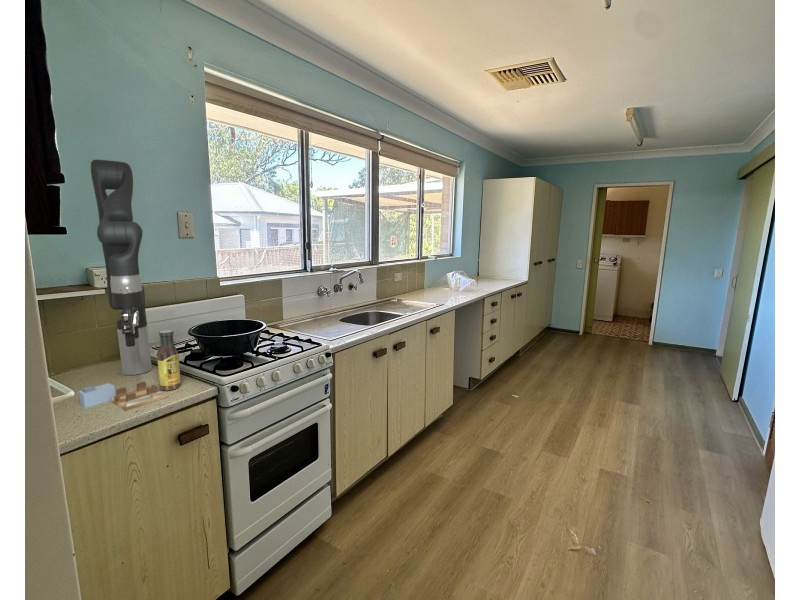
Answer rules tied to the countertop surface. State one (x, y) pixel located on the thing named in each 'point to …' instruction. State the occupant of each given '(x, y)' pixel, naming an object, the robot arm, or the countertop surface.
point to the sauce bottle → (168, 362)
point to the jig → (137, 396)
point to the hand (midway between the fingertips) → (132, 342)
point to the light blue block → (96, 394)
